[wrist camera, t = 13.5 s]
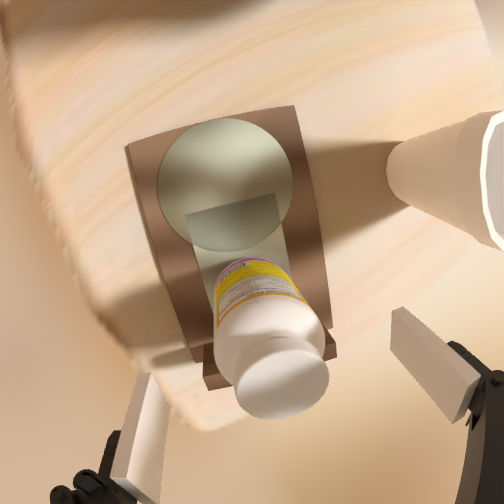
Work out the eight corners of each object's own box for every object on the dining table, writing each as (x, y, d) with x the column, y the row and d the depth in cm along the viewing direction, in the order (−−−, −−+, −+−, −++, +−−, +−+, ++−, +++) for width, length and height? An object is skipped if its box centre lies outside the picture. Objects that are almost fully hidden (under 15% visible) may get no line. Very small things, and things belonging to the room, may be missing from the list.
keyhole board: (129, 144, 21) (105, 136, 16) (292, 106, 22) (312, 88, 16) (195, 360, 27) (193, 396, 21) (331, 325, 27) (353, 355, 22)
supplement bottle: (278, 328, 26) (320, 431, 14) (208, 318, 25) (205, 428, 13) (297, 261, 25) (367, 338, 12) (221, 246, 23) (227, 323, 11)
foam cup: (371, 218, 25) (473, 255, 12) (370, 120, 23) (473, 94, 10) (440, 218, 26) (533, 246, 13) (440, 134, 24) (536, 130, 11)
